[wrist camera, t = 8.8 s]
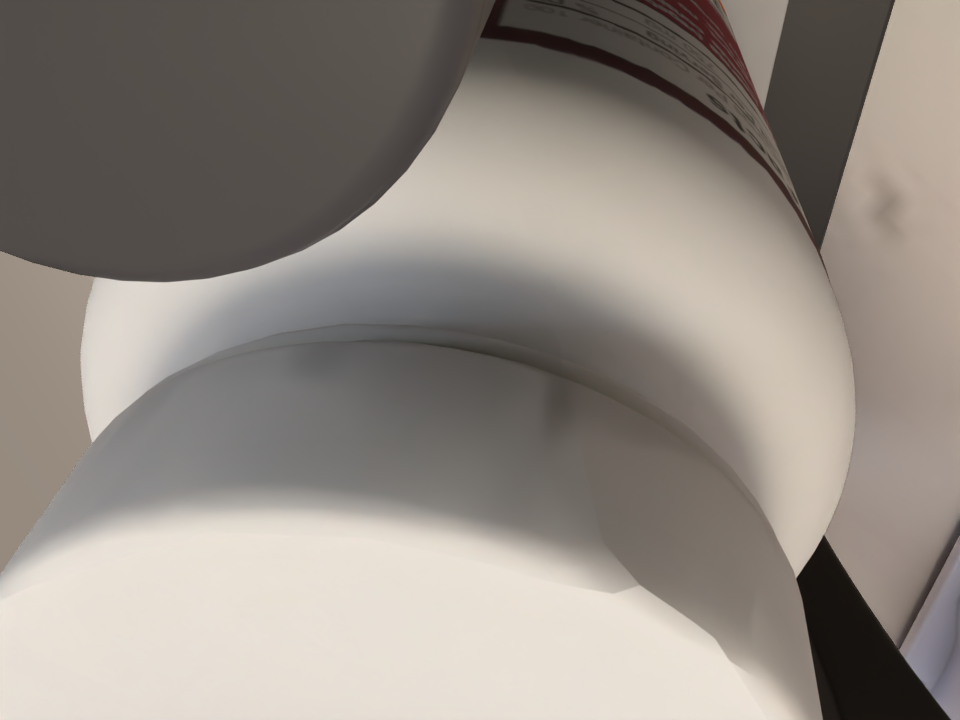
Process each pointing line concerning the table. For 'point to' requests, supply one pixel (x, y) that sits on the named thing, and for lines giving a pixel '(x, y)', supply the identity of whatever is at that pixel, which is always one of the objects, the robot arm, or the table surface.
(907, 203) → the table surface
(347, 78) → the coffee maker
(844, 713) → the robot arm
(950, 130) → the table surface
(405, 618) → the pill bottle
